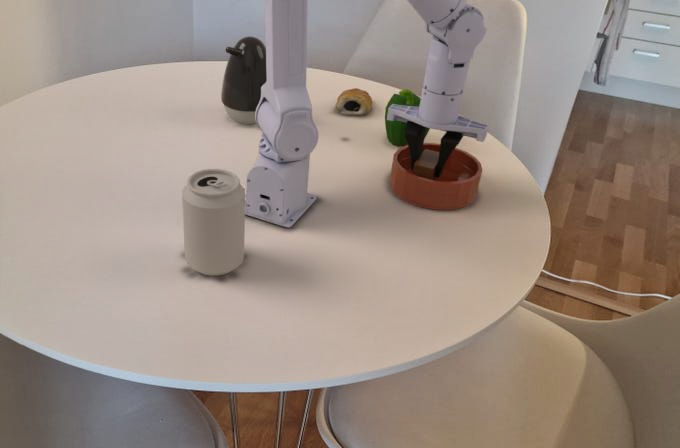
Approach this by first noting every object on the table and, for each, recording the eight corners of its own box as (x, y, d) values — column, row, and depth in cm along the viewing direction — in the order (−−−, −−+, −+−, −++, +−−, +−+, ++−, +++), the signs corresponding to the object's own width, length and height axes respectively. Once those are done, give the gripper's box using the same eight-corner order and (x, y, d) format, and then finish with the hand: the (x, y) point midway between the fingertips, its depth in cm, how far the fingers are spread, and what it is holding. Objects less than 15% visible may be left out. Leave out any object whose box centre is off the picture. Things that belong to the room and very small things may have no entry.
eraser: (429, 189, 97) (433, 169, 95) (410, 184, 98) (413, 164, 96) (440, 173, 102) (444, 153, 100) (421, 168, 103) (425, 148, 101)
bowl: (464, 219, 93) (470, 192, 90) (377, 195, 98) (381, 168, 95) (484, 180, 103) (490, 155, 100) (404, 160, 108) (408, 136, 105)
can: (213, 238, 87) (212, 158, 80) (256, 260, 83) (258, 178, 76) (172, 262, 82) (167, 180, 75) (215, 287, 78) (214, 203, 71)
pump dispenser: (209, 116, 120) (207, 35, 111) (251, 103, 126) (253, 25, 117) (245, 135, 113) (246, 50, 105) (287, 120, 119) (291, 39, 111)
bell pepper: (416, 130, 118) (425, 78, 112) (435, 150, 111) (445, 95, 106) (373, 133, 116) (380, 79, 111) (389, 153, 110) (397, 98, 104)
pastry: (342, 96, 130) (344, 78, 128) (375, 101, 129) (377, 83, 127) (333, 114, 123) (335, 95, 121) (369, 119, 121) (371, 100, 119)
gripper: (500, 89, 92) (479, 172, 100) (403, 69, 98) (390, 150, 105) (490, 105, 87) (469, 192, 94) (387, 84, 92) (375, 167, 100)
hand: (426, 171), depth 99 cm, fingers closed on eraser, 3 cm apart
